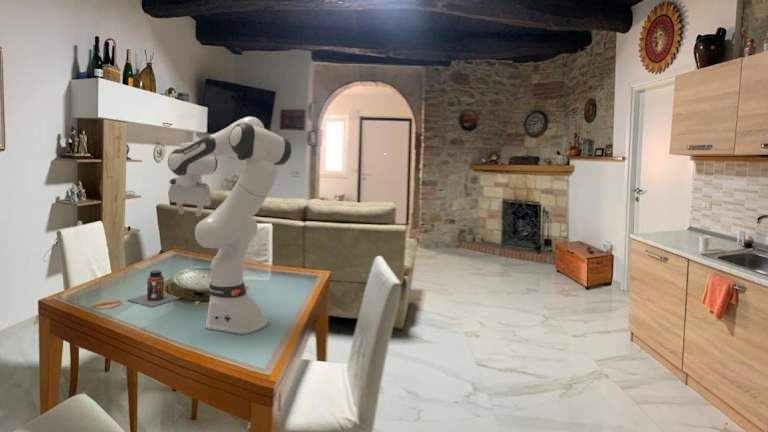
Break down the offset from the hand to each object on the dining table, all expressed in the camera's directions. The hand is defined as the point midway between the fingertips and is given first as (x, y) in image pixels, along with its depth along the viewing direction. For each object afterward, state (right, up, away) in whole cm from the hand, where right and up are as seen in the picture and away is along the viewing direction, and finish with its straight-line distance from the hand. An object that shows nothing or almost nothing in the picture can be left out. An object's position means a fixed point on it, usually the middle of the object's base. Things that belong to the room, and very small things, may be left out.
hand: (189, 214), depth 189 cm
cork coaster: (-26, -35, -14) cm, 46 cm away
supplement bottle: (-12, -34, -5) cm, 36 cm away
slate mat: (-12, -34, -5) cm, 37 cm away
